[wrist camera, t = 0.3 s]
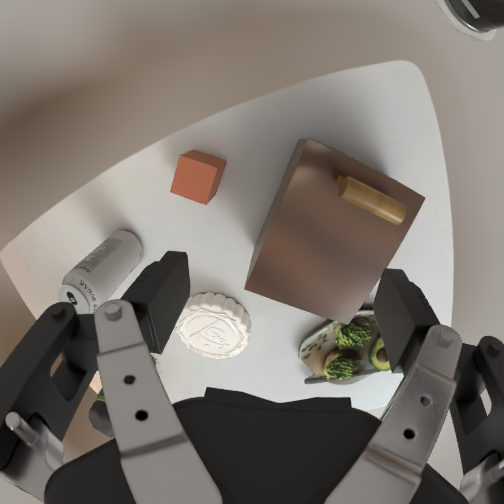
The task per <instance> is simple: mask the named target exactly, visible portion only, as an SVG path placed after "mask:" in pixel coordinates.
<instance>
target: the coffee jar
mask: <svg viewBox="0 0 504 504" xmlns="http://www.w3.org/2000/svg"><path fill="white" fill-rule="evenodd" d="M152 360H153V359H152ZM153 362H154V365H155V367H156V363H155V361H154V360H153ZM89 420H90V422H91V423H92V425H93V427H94V428H95V429H97V430H98V431H100V432H102V433H104V434H105V435H107V436H109V437H115V434H114V431H113V428H112V424H111V420H110V417H109V413H108V409H107V405H106V401H105V397H104V393H103V388H102V389H101V390H100V392H99V394H98V396H97V398H96V400H95V401H94V403H93V405H92V407H91V408H90V411H89Z"/></svg>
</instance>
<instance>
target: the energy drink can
mask: <svg viewBox="0 0 504 504" xmlns="http://www.w3.org/2000/svg"><path fill="white" fill-rule="evenodd" d="M142 257H143V249H142V244H141V242H140V240H139V239H138V237H137V236H136V235H134V234H133V233H131V232H127V231H117V232H115V233H114V234H113V235H111V236H110V237H109V238H108V239H107V240H105V241H104V242H103V243H102V244H101V245H99V246H98V247H97V248H96V249H95V250H93V251H92V252H91V253H90V254H89V255H88V256H86V257H85V258H84V259H83V260H82V261H81V262H80V263H78V264H77V265H76V266H75V267H74V268H73V269H72V270H71V271H69V272H68V273H67V274H66V275H65V276H64V278H63V282H62V286H61V287H60V288H59V298H60V301H61V302H70V303H72V304H73V305H74V306H75V309H76V312H77V314H93V313H95V311H96V309H97V308H98V307H99V306H100V305H102V304H103V303H105V302H106V301H107V300H108V299H109V298H110V297H111V295H112V294H113V293H114V292H115V291H116V289H117V288H118V287H119V286H120V285H121V283H122V282H123V281H124V280H125V279H126V278H127V276H128V275H129V274H130V273H131V272H132V271H133V270H134V268H135V267H136V266H137V265H138V264H139V263H140V262H141V260H142Z"/></svg>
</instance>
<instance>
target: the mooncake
mask: <svg viewBox="0 0 504 504" xmlns="http://www.w3.org/2000/svg"><path fill="white" fill-rule="evenodd" d="M176 326H177V327H176V332H177V334H179V338H180V340H181V341H182V342H184V343H185V345H186V346H187V347H188V348H190V349H193V351H194V352H195V353H197V354H202V355H203V356H205V357H213V358H215V359H220V358H221V357H222V358H225V359H226V358H229V357H230V356H236V355H238V354H239V352H242V351H244V349H245V346H246V345H247V344H248V343H249V337H250V329H251V322H250V321H249V315H248V313H247V312H245V311H244V309H243V307H242V306H241V305H240V304H236V302H235V301H234V300H233V299H232V298H226V297H225V296H224V295H222V294H216V295H214V294H213V293H210V292H208V293H206V294H196V295H195V297H190V298H188V301H187V303H186V305H185V307H184V309H183V311H182V313H181V315H180V317H179V319H178V321H177V323H176Z"/></svg>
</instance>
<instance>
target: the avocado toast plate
mask: <svg viewBox="0 0 504 504" xmlns="http://www.w3.org/2000/svg"><path fill="white" fill-rule="evenodd" d="M298 356H299V358H300V360H301V361H302V362H303V363H304V364H305V365H307V366H308V367H309V368H310V369H312V370H313V372H314V374H313V375H312V376H311V377H308V378H306V379H305V384H314V383H321V382H329V383H331V384H335V385H349V384H353V383H355V382H358V381H360V380H362V379H364V378H366V377H368V376H369V375H371V374H373V373H375V372H380V371H388V370H390V369H391V368H390V364H389V361H388V357H387V354H386V350H385V347H384V344H383V341H382V337H381V334H380V331H379V328H378V325H377V322H376V319H375V316H374V311H373V308H368V307H364V308H360V309H359V310H358V312H357V313H356V314H355V316H354V317H353V319H352V320H351V321H350V323H349V324H348V325H346V324H343V323H340V322H337V321H334V320H333V321H331V322H330V323H328V324H327V325H325V326H323V327H322V328H320V329H318V330H317V331H316V332H315V333H314V334H312V335H311V336H310V337H308V338H306V339H305V340H304V341H303V343H302V345H301V346H300V349H299V355H298Z"/></svg>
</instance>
